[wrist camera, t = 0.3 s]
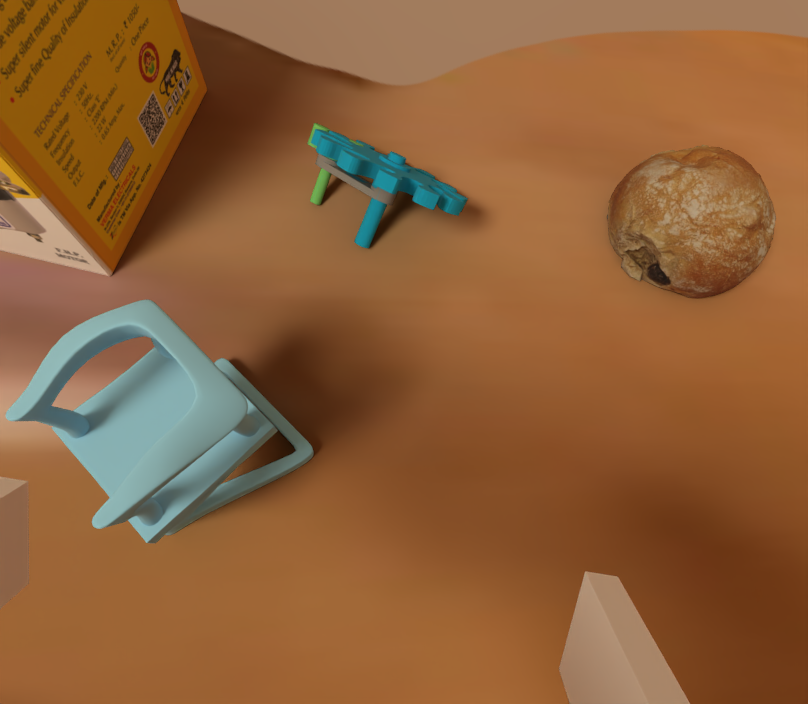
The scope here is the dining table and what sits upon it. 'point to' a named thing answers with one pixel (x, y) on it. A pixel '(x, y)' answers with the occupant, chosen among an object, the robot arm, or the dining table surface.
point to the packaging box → (88, 122)
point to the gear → (376, 178)
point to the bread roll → (691, 220)
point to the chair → (158, 423)
